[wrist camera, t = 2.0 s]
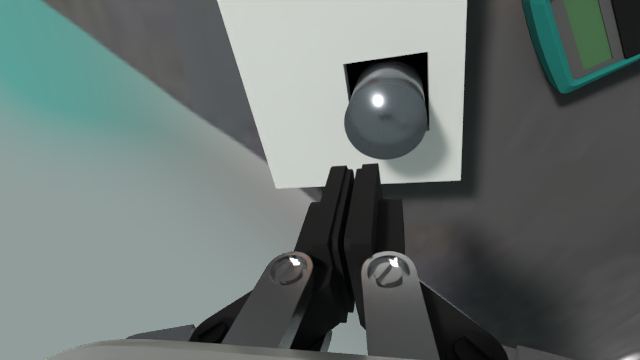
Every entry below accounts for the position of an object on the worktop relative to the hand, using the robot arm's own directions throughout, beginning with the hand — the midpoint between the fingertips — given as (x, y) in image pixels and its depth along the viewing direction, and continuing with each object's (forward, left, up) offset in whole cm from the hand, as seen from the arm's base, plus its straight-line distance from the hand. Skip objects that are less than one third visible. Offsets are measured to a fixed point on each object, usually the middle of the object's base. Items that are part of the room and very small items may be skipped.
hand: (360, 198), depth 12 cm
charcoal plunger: (0, 0, -13) cm, 13 cm away
